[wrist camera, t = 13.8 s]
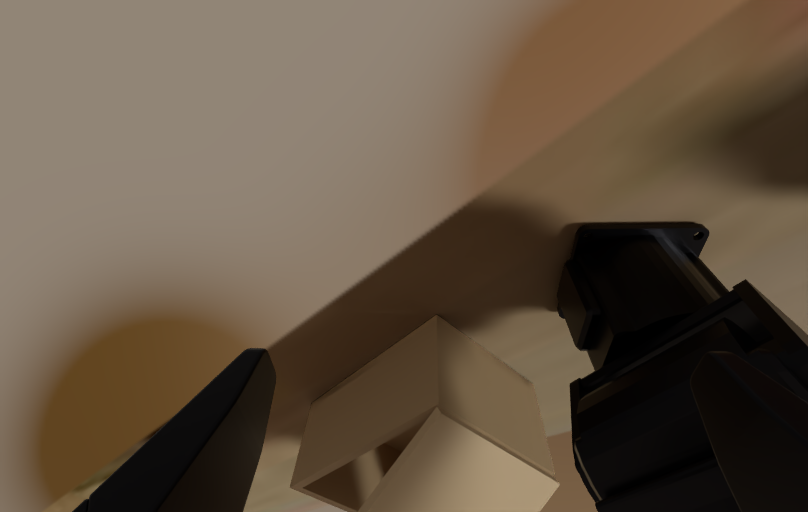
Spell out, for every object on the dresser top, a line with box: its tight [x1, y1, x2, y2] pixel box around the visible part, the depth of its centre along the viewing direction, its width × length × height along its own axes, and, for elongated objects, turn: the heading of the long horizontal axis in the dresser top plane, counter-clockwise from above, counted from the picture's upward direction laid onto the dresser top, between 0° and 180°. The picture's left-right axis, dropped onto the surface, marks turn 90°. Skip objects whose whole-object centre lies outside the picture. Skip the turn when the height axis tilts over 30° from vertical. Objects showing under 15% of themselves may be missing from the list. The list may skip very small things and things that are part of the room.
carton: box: [290, 315, 555, 512], centre depth 28 cm, size 14×10×6 cm
